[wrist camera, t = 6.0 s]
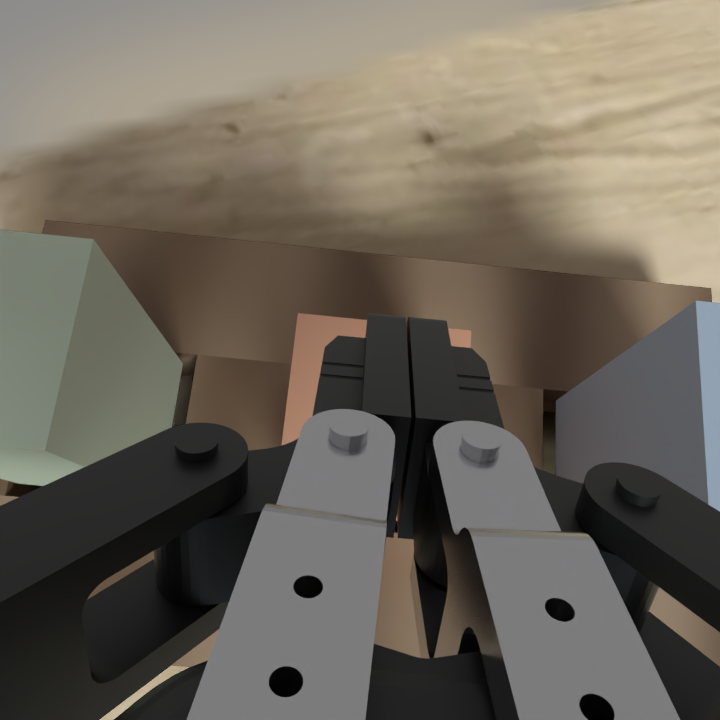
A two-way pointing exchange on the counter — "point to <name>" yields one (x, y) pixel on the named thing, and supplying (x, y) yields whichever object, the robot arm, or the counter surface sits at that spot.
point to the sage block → (74, 360)
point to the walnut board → (355, 300)
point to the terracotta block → (308, 361)
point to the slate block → (652, 407)
